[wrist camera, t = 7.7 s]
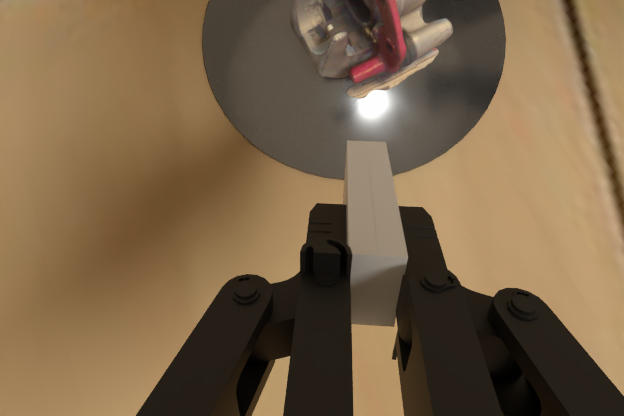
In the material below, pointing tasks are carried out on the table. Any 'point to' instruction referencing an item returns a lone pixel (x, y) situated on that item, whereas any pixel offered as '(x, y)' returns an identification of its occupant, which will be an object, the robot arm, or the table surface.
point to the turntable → (332, 91)
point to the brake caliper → (367, 40)
